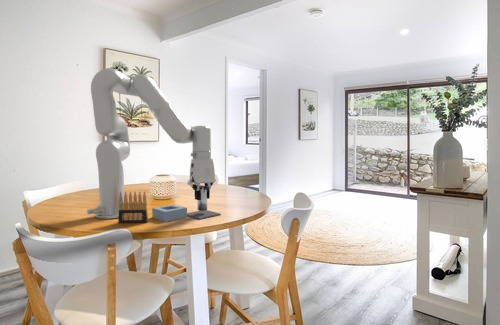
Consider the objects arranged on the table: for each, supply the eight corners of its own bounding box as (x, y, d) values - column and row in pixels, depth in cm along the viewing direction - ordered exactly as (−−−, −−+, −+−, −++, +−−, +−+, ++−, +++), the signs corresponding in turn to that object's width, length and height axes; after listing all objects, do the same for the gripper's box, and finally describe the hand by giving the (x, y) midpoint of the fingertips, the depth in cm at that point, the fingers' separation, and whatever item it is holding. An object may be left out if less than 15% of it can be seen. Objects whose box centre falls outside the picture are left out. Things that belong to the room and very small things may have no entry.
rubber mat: (199, 219, 126) (199, 218, 126) (183, 215, 133) (183, 213, 133) (220, 215, 134) (220, 213, 134) (204, 210, 141) (204, 209, 141)
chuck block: (165, 222, 122) (165, 211, 122) (152, 217, 129) (152, 207, 129) (187, 217, 129) (186, 207, 129) (173, 213, 136) (173, 204, 136)
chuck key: (204, 211, 129) (204, 187, 128) (192, 209, 135) (192, 185, 134) (212, 210, 132) (211, 186, 131) (200, 207, 138) (200, 184, 137)
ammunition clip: (148, 221, 123) (147, 191, 122) (147, 223, 121) (146, 191, 120) (119, 222, 122) (119, 191, 121) (118, 223, 120) (117, 192, 119)
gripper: (190, 156, 123) (191, 203, 124) (222, 155, 135) (223, 197, 136) (179, 155, 128) (180, 200, 130) (211, 154, 140) (212, 195, 142)
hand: (202, 198), depth 133 cm, fingers closed on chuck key, 4 cm apart
